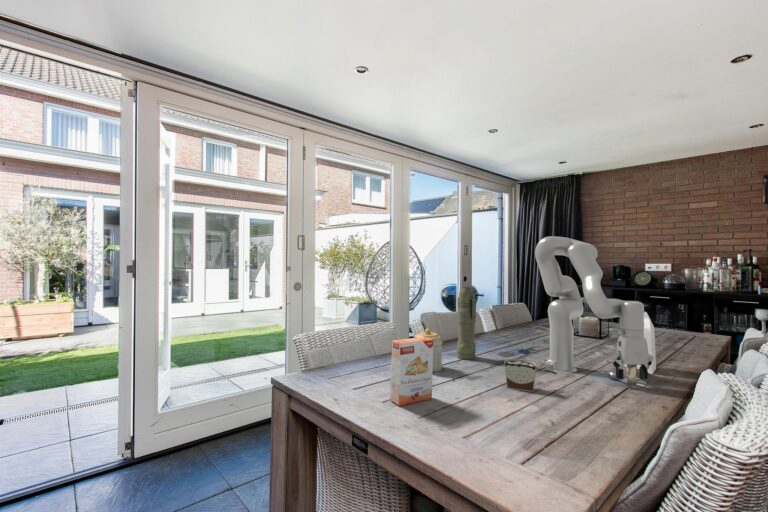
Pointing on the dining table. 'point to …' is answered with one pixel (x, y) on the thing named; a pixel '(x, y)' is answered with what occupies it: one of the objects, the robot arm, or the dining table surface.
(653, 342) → the milk
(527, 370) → the food container
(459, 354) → the thermos
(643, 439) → the dining table surface
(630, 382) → the lever
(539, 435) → the dining table surface
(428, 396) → the cracker box
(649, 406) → the dining table surface
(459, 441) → the dining table surface
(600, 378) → the dial board
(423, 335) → the jar
